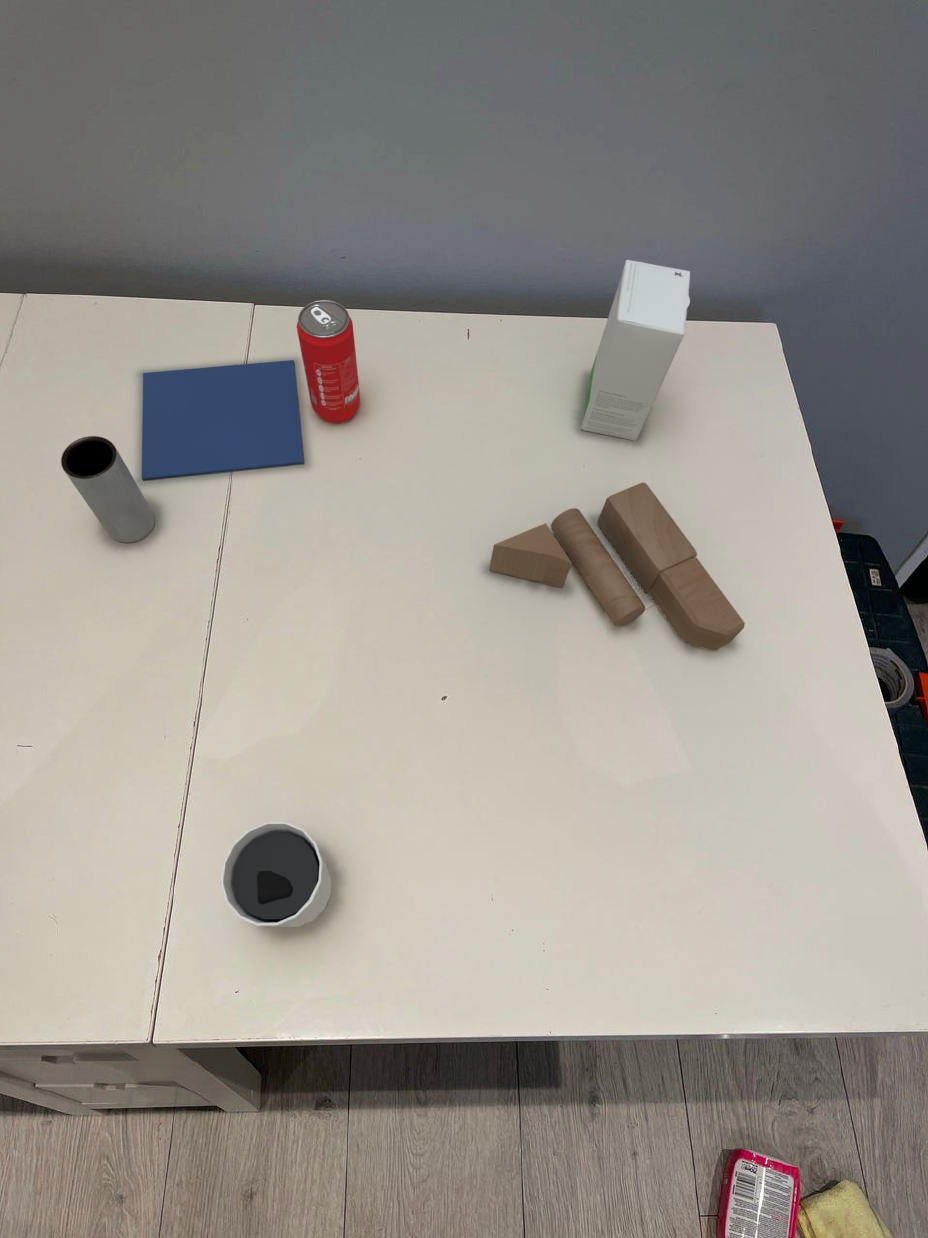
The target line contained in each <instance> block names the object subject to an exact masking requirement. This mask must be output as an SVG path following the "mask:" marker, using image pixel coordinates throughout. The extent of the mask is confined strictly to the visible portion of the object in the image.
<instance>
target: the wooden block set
mask: <svg viewBox="0 0 928 1238" xmlns="http://www.w3.org/2000/svg"><path fill="white" fill-rule="evenodd" d="M597 525H598V526H599V527H600V529H601V530H602V532H603V533H604V535H605V536H606V538H607V539H608V540H609V542H610V543H611V545H612V546H613V548H614V549H615V551H616V552H617V554H618V555H619V556H620V558H621V559H622V561H623V562H624V564H625V566H626V567H627V568H628V570H629V571H630V572H631V574H632V575H633V577H634V578H635V580H636V582H637V583H638V584H639V586H640V587H641V588H642V590H643V591H644V592H645V593H649V594H650V596H651V597H652V599H653V600H654V602H655V603H656V605H657V607H659V609H660V611H661V612H662V613H663V615H664V616H665V618H666V619H667V620H668V622H669V623H670V625H671V626H672V628H673V629H674V631H675V632H676V634H677V635H678V636H679V638H680V639H681V640H683V641H684V642H685V643H687V644H690V645H695V646H698V647H700V648H704V649H708V650H711V651H714V650H715V651H717V650H719V649H721V648H723V647H725V646H727V645H729V644H730V643H731V642H732V641H733V640H734V639H735V638H736V637H737V636H738V635H739V634H740V633H741V632H742V631H743V630H744V628H745V625H746V624H745V621H744V619H742V617H741V615H740V614H739V613H738V612H737V610H736V608H734V606H733V605H732V603H731V602H730V601H729V599H728V598H727V596H725V594H724V593H723V592H722V590H721V589H720V587H719V586H718V585H717V583H716V582H715V580H714V579H713V578H712V577H711V575H710V573H709V572H708V571H707V570H706V568H705V566H703V563H701V562H700V559H698V557H697V556H698V553H697V550H696V548H695V547H694V546H693V544H692V543H691V541H689V539H688V538H687V536H686V535H685V534H684V532H683V531H682V530H681V528H680V527H679V525H678V524H677V523H676V521H675V520H674V519H673V517H672V516H671V515H670V513H669V512H668V511H667V509H666V508H665V507H664V505H663V504H662V503H661V501H660V500H659V498H658V497H657V496H656V494H655V492H653V490H652V489H651V488H650V486H649V485H648V484H647V483H646V482H640V483H638V484H635V485H633V486H631V487H628V488H625V489H623V490H621V491H618V492H616V493H614V494H611V495H609V496H607V498H606V499H605V501H604V503H603V506H602V509H601V511H600V514H599V516H598V518H597ZM572 565H574V566H575V567H576V569H577V570H578V572H579V574H580V575H581V577H582V578H583V580H584V581H585V583H586V584H587V586H588V587H589V589H590V590H591V592H592V593H593V595H594V597H595V598H596V599H597V601H598V602H599V604H600V605H601V607H602V609H603V610H604V612H605V614H607V616H608V618H609V619H610V621H611V622H612V624H613V625H614V627H617V628H620V627H624V626H627V625H628V624H630V623H633V621H636V620H637V619H638V618H639V617H640V616H642V615H643V613H644V612H645V611H646V605H645V604H644V602H643V601H642V600H641V598H640V597H639V595H638V594H637V592H636V591H635V589H634V588H633V586H632V585H631V584H630V582H629V580H628V579H627V578H626V576H625V575H624V573H623V572H622V570H621V569H620V567H619V566H618V564H617V563H616V561H615V560H614V558H613V557H612V556H611V554H610V553H609V551H608V549H607V548H606V546H605V545H604V544H603V542H602V540H600V537H598V535H597V534H596V532H595V531H594V529H593V528H592V526H591V525H590V523H589V522H588V520H587V519H586V517H585V516H584V514H583V513H582V511H581V510H580V509H578V508H575V507H573V508H568V509H567V510H565V511H562V512H561V513H559V514H558V515H557V516H555V518H554V519H553V520H552V522H551V524H550V527H549V526H548V524H547V523H546V522H545V523H543V524H540V525H537V526H535V527H533V528H531V529H528V530H525V531H523V532H521V533H519V534H516V535H513V536H512V537H509V538H507V539H503V540H502V541H499V542H497V543H495V544H493V548H492V552H491V558H490V564H489V567H488V571H490V572H494V573H497V574H502V575H506V576H511V577H515V578H519V579H522V580H527V581H532V582H536V583H540V584H543V585H544V584H545V585H548V586H553V587H557V588H560V589H563V587H564V585H565V583H566V580H567V577H568V575H569V571H570V569H571V566H572Z"/></svg>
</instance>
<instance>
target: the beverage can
mask: <svg viewBox="0 0 928 1238" xmlns="http://www.w3.org/2000/svg"><path fill="white" fill-rule="evenodd" d="M296 331H297V332H296V333H297V335H298V336H297V337H298V343H299V348H300V352H301V359H302V363H303V369H304V375H305V379H306V385H307V390H308V396H309V400H310V405H311V408H312V409H313V411H314V412H315V413H316V414H317V416H318V417H319V418H320V419H321V420H322V421H324V422H326V423H329V424H334V425H337V424H344V423H347V422H349V421H350V420H352V419H353V418H354V417H355V416H356V414H357V412H358V409H359V407H360V406H361V392H360V384H359V383H360V382H359V371H358V364H357V354H356V353H357V351H356V341H355V334H354V323H353V319H352V318H351V316H350V314H349V311H348V310H347V309H346V308H345V307H344V306H343V305H342V304H340V303H338V302H336V301H333V300H325V299H324V300H323V299H322V300H316V301H312V302H310V303H308V304H306V305H305V306H304V307H303V308H302V309H301V310H300V312H299V314H298V317H297V322H296Z"/></svg>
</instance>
